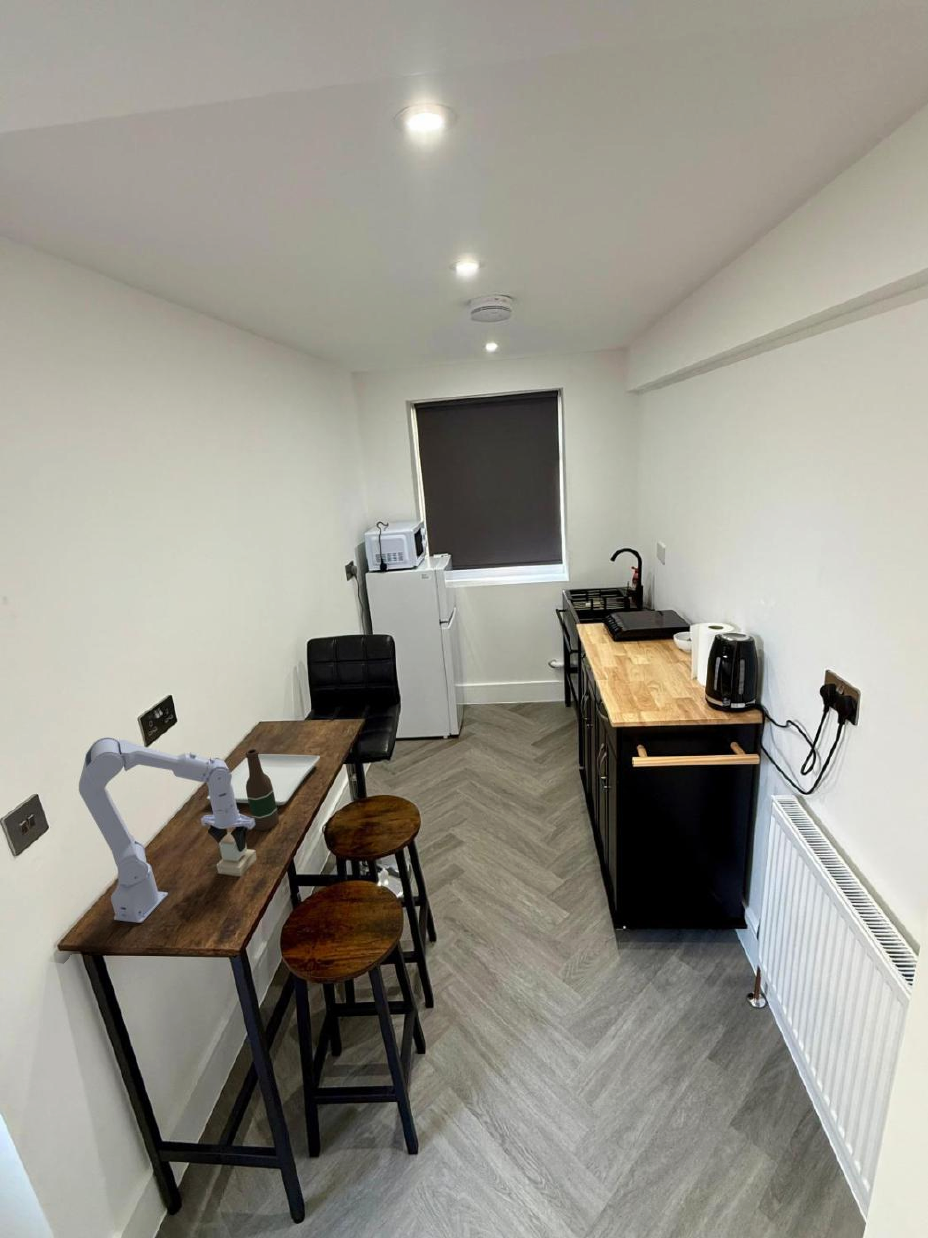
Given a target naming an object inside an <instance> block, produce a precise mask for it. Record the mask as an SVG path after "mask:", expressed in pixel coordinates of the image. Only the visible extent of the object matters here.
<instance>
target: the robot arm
mask: <svg viewBox="0 0 928 1238" xmlns="http://www.w3.org/2000/svg"><path fill="white" fill-rule="evenodd" d="M84 757H85V758H84V763H83V767H82V770H81V772H80V773H81V774H80V777H79V781H78V792H79V795H80V797H81V798H82V801H84V803H85V805H86V808H87V809H88V811H89V812H90V814H91V816H92V818H93V820H94V821H95V823H96V825H97V827H98V828H99V831H100V833H101V834H102V836H103V838H104V840H105V842H106V844H107V845H108V847H109V849H110V851H111V854H112V857H113V860H114V864H115V866H116V867H117V880H118V882H117V886H116V888H115V890H114V891H113V892H112V894H111V896H110V901H111V904H112V908H113V911H114V914H115V915H114V917H113V919H114V921H123V922H131V923H139V924H140V923H143V922H144V921H145V920H146V919H147V918H148V917H149V915H151V913H152V912H153V911H154V910H155V909H156V908H157V907H158V906H159V905H160V903H161V902H163V900H164V899H165V898H166V897H167V896H168V895H169V894H168V892H165V891H159V890H158V887H157V884H156V879H155V876H154V872H153V869H152V865H151V864H150V863H149V862H147V859H146V849H145V846H144V845H143V844H142V843H141V842H140V841H137V839H136V838H135V836H134V835H133V834H131V832H130V830H129V829H128V827H127V825H126V823H125V821H124V820H123V818H122V816H121V814H120V812H119V810H118V808H117V806H116V804H115V803H114V801H113V798H112V797H111V795H110V794H109V790H108V789H107V785H108V784H109V782H110V781H111V780H113V778H115V777H116V776H117V775H118V774H119V773H120V772H121V771H122V769H123V768H124V769H123V770H124V772H127V771H129V770H131V769H132V768H134V767H136V766H138V765H140V766H145V767H150V768H157V769H162V770H169V771H172V772H173V775H174V776H175V777H176V778H181V779H185V780H190V781H194V782H198V783H206V786H207V787H208V788H207V789H208V796H209V797H210V800H209V801H210V805H211V808H212V810H211V811H212V813H213V814H205V815H203V817H201V818H200V823H201V826H204V827H205V826H207V825H210V826H209V829H207V834H208V835H210V836H211V837H212V838H213V839H214V840H215V841H216V843H217V844H218V845H219V843H220V842H221V840H222V839H223V838H224V837H225V836H226V835H227V833H228V829H231V828H234V829H232V831H230V832H231V835H232V836H233V838H234V839H235V842H236V844H237V848H238V850H239V852H242V851H243V850H244V848H245V847H246V846H247V835H248V831H249V830H252V829H253V828H254V826H255V821H254V818H252V817H248V816H247V815H244V814H241V813H240V810H239V809H238V806H237V803H236V801H235V796H234V792H233V787H232V785H231V779H232V774H231V771H230V769H229V767H228V766H227V763H226V762H225V761H224V760H223V759H221V758H220V757H210V758H205V757H201V756H197V754H196V753H195V752H192V751H191V752H189V753H184V752H183V753H182V754H179V755H177V756H176V755H173V754H170V753H167V752H162V751H160V750H156V749H153V748H149V747H146V746H142V745H140V744H136V743H133V742H131V741H128V740H125V739H119V740H118V739H116V738H114V737H110V736H105V737H101V738H98V739H97V740H96V741H94V742H93V743H92V745H91V746H90V748H89V749H88V750H87V751H86V753H85V756H84Z"/></svg>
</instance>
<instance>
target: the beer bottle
mask: <svg viewBox="0 0 928 1238" xmlns="http://www.w3.org/2000/svg"><path fill="white" fill-rule="evenodd" d="M259 754H260V752H259V750H258V749H257V748H252V749H249V750H246V752H245V758H247V760H248V767H249V778H248V780H247V783H246V792H247V798H248V802H249V803H248V807H249V812H250V816H251V818H254V821H255V826H254V827H253V828H254V830H257V831H262V832H263V831H264V832H265V831H267V830H271V829H273V828H274V827H275V826H276V825H278V823H280V817H279V813H278V807H277V806H278V805H276V801H275V796H274V791H273V787H272V784H271V780H270V778H269V777H268V776H267V775H266V774H264V773H263V770H262V767H261V764H260V760H259V757H258V755H259Z"/></svg>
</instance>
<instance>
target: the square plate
mask: <svg viewBox="0 0 928 1238" xmlns="http://www.w3.org/2000/svg"><path fill="white" fill-rule="evenodd" d="M258 757H259V760H260V764H261V767H262V770H263V773H264V774H266V775H267V776H268V777H269V778H270V780H271V784H272V787H273V791H274V796H275V801H276V806H283V805H285V804H287V802H289V800H290V798H291V797H292V796H293V794H294V793H295V791H296V790H297V789H298V788H299V786H300V785H301V783H302V782H303V780H305V778H306V777H307V776H308V774H309V773H310V772H311V771H312V770H313V768H314V767H315V765H316V764H317V763H318V762H319V760H320V757H321V756H319V755H308V754H307V755H304V754H282V753H281V754H278V753H277V754H274V753H268V754H267V753H266V754H265V753H263V754H262V753H259V755H258ZM230 773H231V774H232V779H231V785H232V787H233V792H234V796H235V801H236V804H239V803H240V804H249V802H248V798H247V792H246V783H247V780H248V778H249V767H248V760H247V758H246V757H245V758H244V759H243V760H242V761H241V762H240V763H239V764H238V765H237V766H236V767H235V768H234V769H233V770H232V771H230ZM206 799H207V800H209V801H210V797H209V795H208V796H207V797H206Z"/></svg>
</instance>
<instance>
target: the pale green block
mask: <svg viewBox="0 0 928 1238" xmlns="http://www.w3.org/2000/svg"><path fill="white" fill-rule="evenodd" d="M231 832H232V831H227V835H226V836H225V837H224V838H223V839H222V840H221V842H220V843H219V844H218V846H219V849H220V855H221V859H223V860H232V861H238V860H239V859H240V858H241V857H242V855H243V854H244V853H245V852H246V851H247V849H248V847H247V846H248V845H246V847H245V848H244V850H243V851H242V852H239V850H238V848H237V844H236V842H235V839H234V838H233V836H232V835H231Z"/></svg>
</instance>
